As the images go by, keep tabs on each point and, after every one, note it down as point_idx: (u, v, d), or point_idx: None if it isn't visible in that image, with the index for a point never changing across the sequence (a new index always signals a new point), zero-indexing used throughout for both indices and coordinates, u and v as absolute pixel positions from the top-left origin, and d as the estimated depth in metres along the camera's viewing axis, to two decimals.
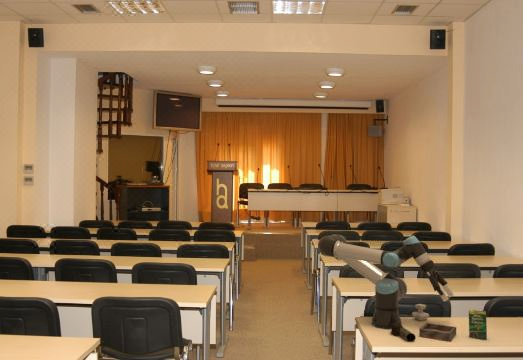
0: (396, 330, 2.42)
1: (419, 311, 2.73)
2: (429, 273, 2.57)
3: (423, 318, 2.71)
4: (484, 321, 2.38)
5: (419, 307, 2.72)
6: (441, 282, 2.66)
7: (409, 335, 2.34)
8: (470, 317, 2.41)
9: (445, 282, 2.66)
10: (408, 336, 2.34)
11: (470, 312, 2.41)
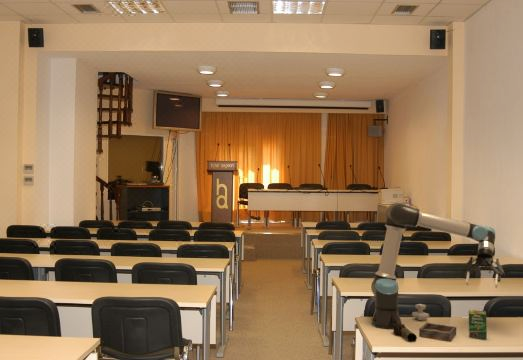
0: (398, 330, 2.42)
1: (419, 311, 2.73)
2: (498, 262, 2.57)
3: (423, 318, 2.71)
4: (484, 321, 2.38)
5: (419, 307, 2.72)
6: (471, 270, 2.59)
7: (410, 335, 2.34)
8: (470, 317, 2.41)
9: None
10: (409, 336, 2.34)
11: (470, 312, 2.41)
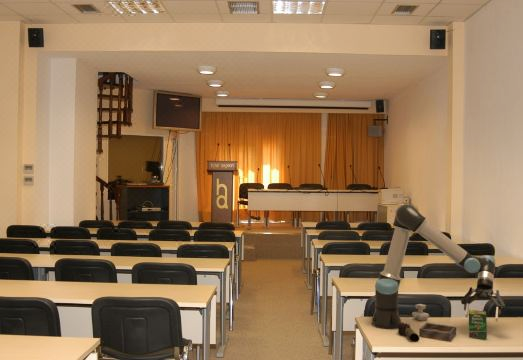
0: (402, 330, 2.42)
1: (419, 311, 2.73)
2: None
3: (423, 318, 2.71)
4: (484, 321, 2.38)
5: (419, 307, 2.72)
6: (470, 301, 2.51)
7: (413, 335, 2.34)
8: (470, 317, 2.41)
9: None
10: (412, 336, 2.34)
11: (470, 312, 2.41)
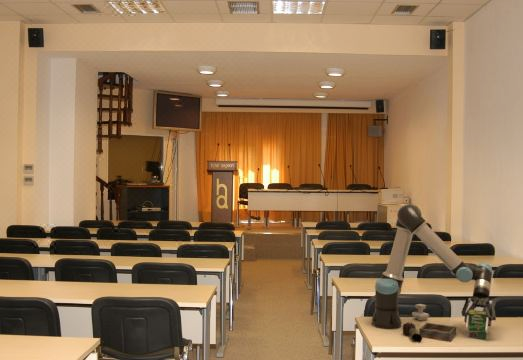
0: (406, 330, 2.42)
1: (419, 311, 2.73)
2: (494, 304, 2.44)
3: (423, 318, 2.71)
4: (484, 321, 2.38)
5: (419, 307, 2.72)
6: None
7: (416, 335, 2.34)
8: (470, 317, 2.41)
9: None
10: (415, 336, 2.34)
11: (470, 312, 2.41)
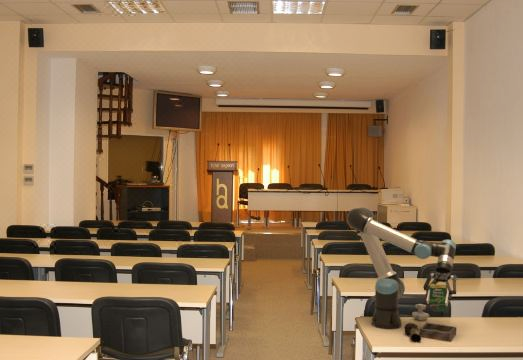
0: (407, 330, 2.42)
1: (419, 311, 2.73)
2: (456, 279, 2.48)
3: (423, 318, 2.71)
4: (444, 295, 2.42)
5: (419, 307, 2.72)
6: None
7: (415, 335, 2.34)
8: (431, 291, 2.45)
9: None
10: (414, 336, 2.34)
11: (431, 286, 2.45)
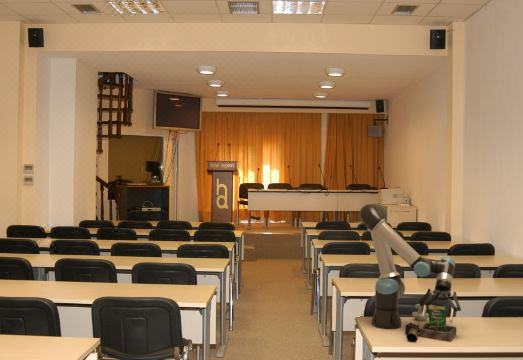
0: (407, 330, 2.43)
1: (419, 311, 2.73)
2: (456, 295, 2.48)
3: None
4: (443, 316, 2.41)
5: (419, 307, 2.72)
6: (428, 303, 2.50)
7: (411, 335, 2.34)
8: (430, 312, 2.45)
9: None
10: (411, 336, 2.34)
11: (430, 307, 2.45)
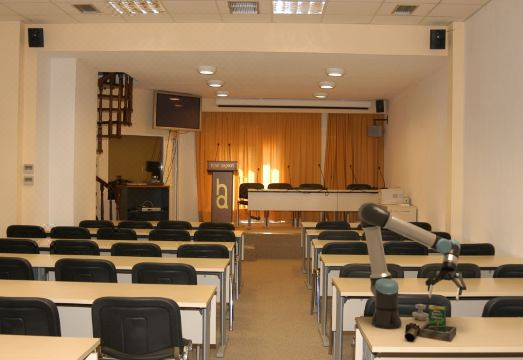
0: (407, 330, 2.43)
1: (419, 311, 2.73)
2: (461, 275, 2.60)
3: (423, 318, 2.71)
4: (443, 316, 2.41)
5: (419, 307, 2.72)
6: (434, 283, 2.62)
7: (409, 335, 2.34)
8: (430, 312, 2.45)
9: None
10: (409, 336, 2.35)
11: (430, 307, 2.45)
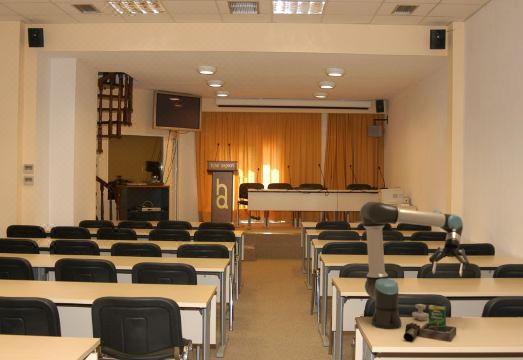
0: (407, 330, 2.43)
1: (419, 311, 2.73)
2: (464, 252, 2.67)
3: (423, 318, 2.71)
4: (443, 316, 2.41)
5: (419, 307, 2.72)
6: (437, 259, 2.69)
7: (408, 335, 2.34)
8: (430, 312, 2.45)
9: None
10: (408, 336, 2.35)
11: (430, 307, 2.45)
